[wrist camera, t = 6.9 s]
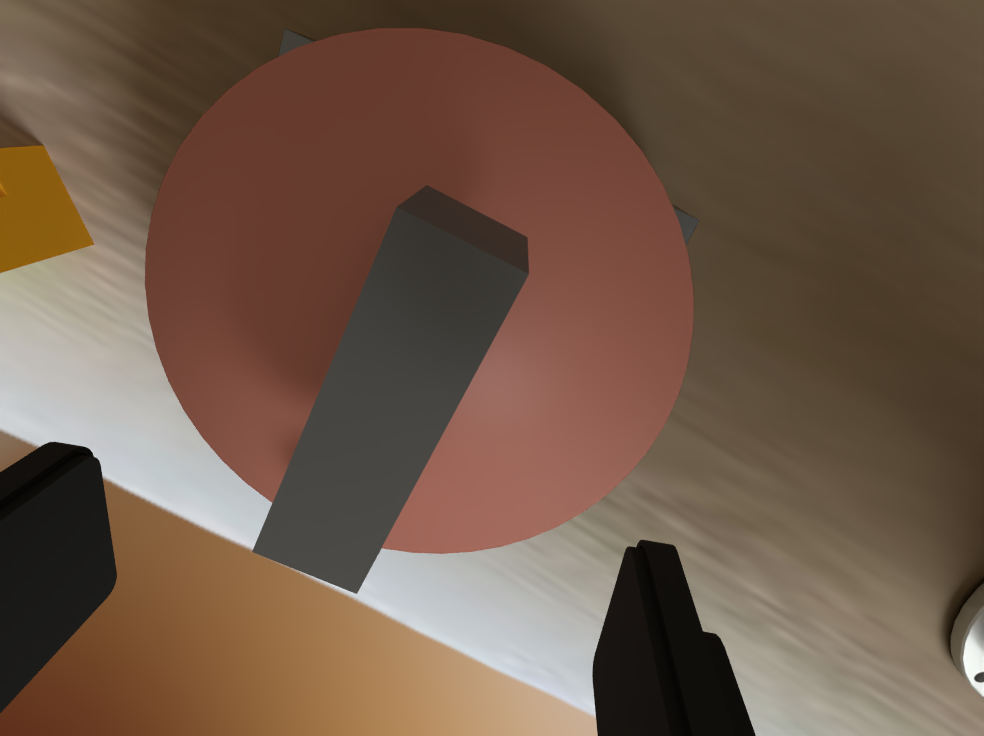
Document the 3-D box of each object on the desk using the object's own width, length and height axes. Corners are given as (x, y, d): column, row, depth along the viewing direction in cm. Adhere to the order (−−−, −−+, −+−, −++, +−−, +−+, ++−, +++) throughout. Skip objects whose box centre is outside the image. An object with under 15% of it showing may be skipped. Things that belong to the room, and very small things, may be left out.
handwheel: (252, -97, 16) (53, -253, 9) (798, 212, 18) (956, 268, 11) (118, 420, 22) (-51, 547, 16) (528, 593, 25) (530, 765, 18)
